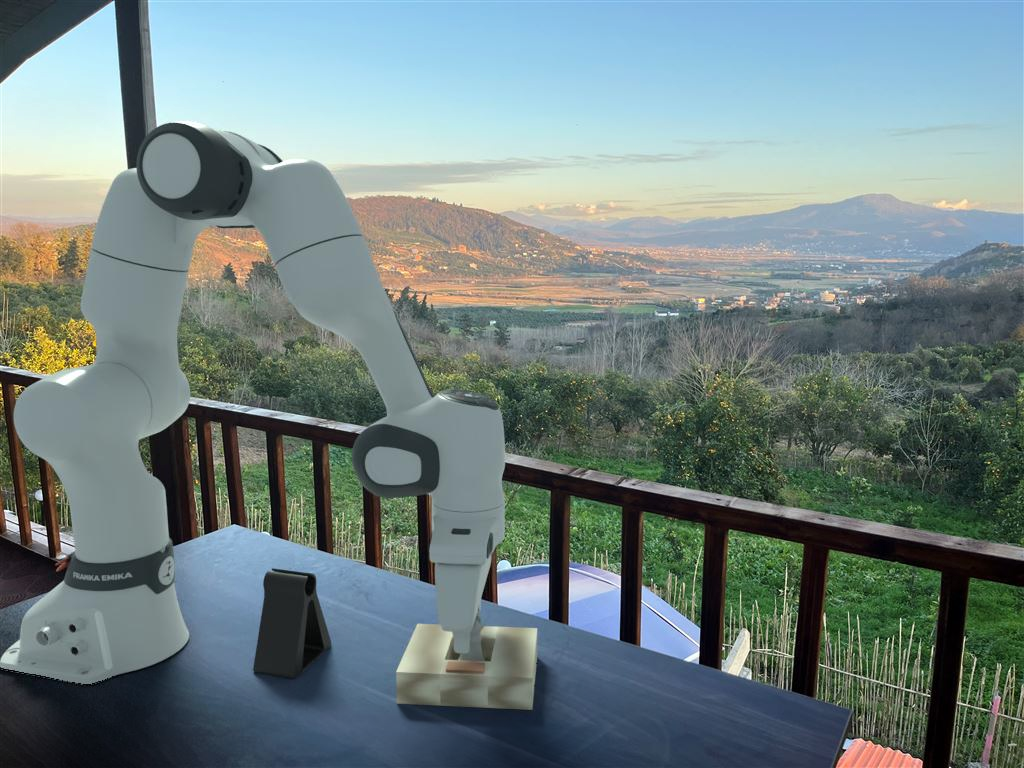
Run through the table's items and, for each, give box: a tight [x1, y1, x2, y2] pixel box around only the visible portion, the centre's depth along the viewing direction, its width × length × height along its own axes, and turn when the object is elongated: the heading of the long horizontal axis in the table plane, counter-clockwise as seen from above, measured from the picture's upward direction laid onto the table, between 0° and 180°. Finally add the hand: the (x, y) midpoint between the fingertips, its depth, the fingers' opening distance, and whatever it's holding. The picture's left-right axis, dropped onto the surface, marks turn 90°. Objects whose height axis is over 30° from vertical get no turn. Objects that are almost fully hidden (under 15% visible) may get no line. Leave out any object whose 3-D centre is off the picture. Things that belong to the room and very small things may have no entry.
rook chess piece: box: [458, 615, 485, 661], centre depth 91 cm, size 4×4×8 cm
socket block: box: [395, 623, 538, 711], centre depth 91 cm, size 16×12×4 cm
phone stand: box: [252, 567, 332, 680], centre depth 95 cm, size 9×6×12 cm, turn 163°
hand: (468, 630), depth 90 cm, fingers open, 8 cm apart
